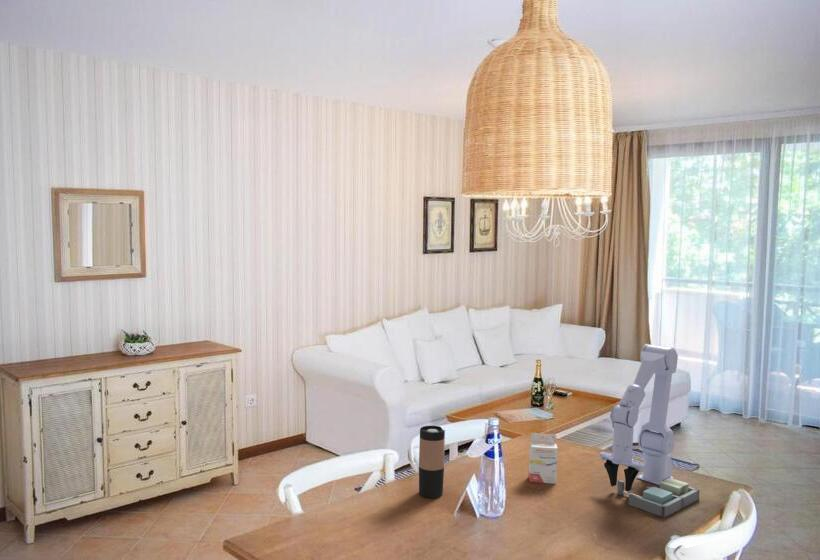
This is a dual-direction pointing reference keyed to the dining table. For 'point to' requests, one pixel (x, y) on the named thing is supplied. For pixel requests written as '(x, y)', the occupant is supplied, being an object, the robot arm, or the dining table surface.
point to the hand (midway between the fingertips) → (620, 487)
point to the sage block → (674, 486)
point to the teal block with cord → (648, 493)
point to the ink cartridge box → (543, 459)
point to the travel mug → (431, 461)
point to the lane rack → (669, 507)
